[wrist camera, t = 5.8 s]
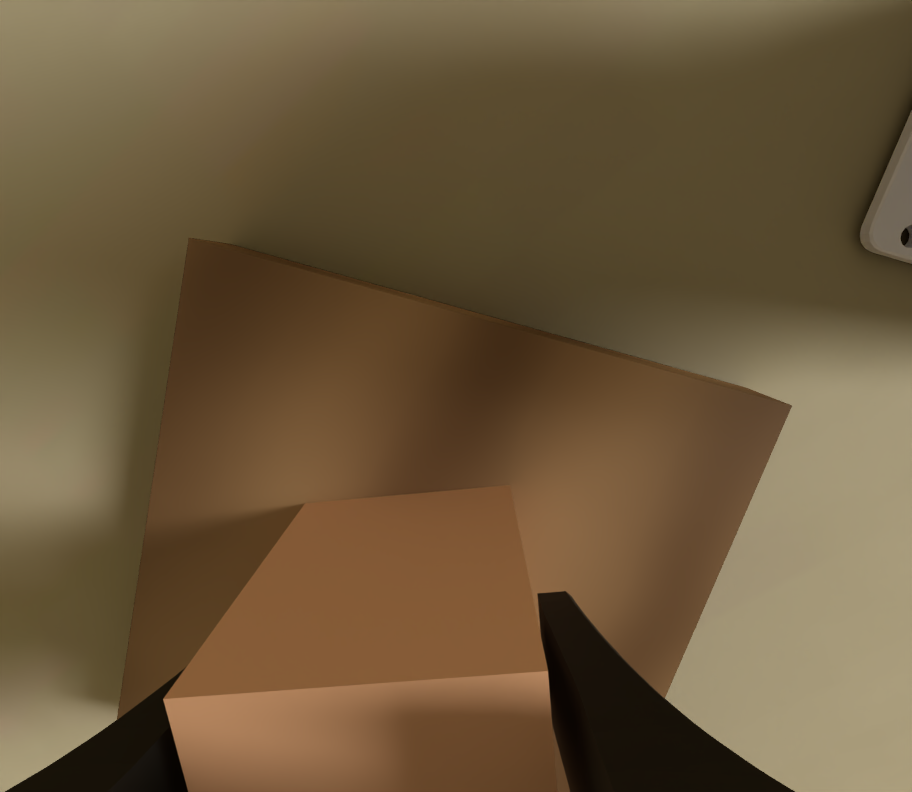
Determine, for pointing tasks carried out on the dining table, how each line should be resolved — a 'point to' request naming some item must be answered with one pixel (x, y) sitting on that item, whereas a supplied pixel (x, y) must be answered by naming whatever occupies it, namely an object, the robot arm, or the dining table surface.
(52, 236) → the dining table surface
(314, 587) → the terracotta block
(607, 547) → the walnut base
